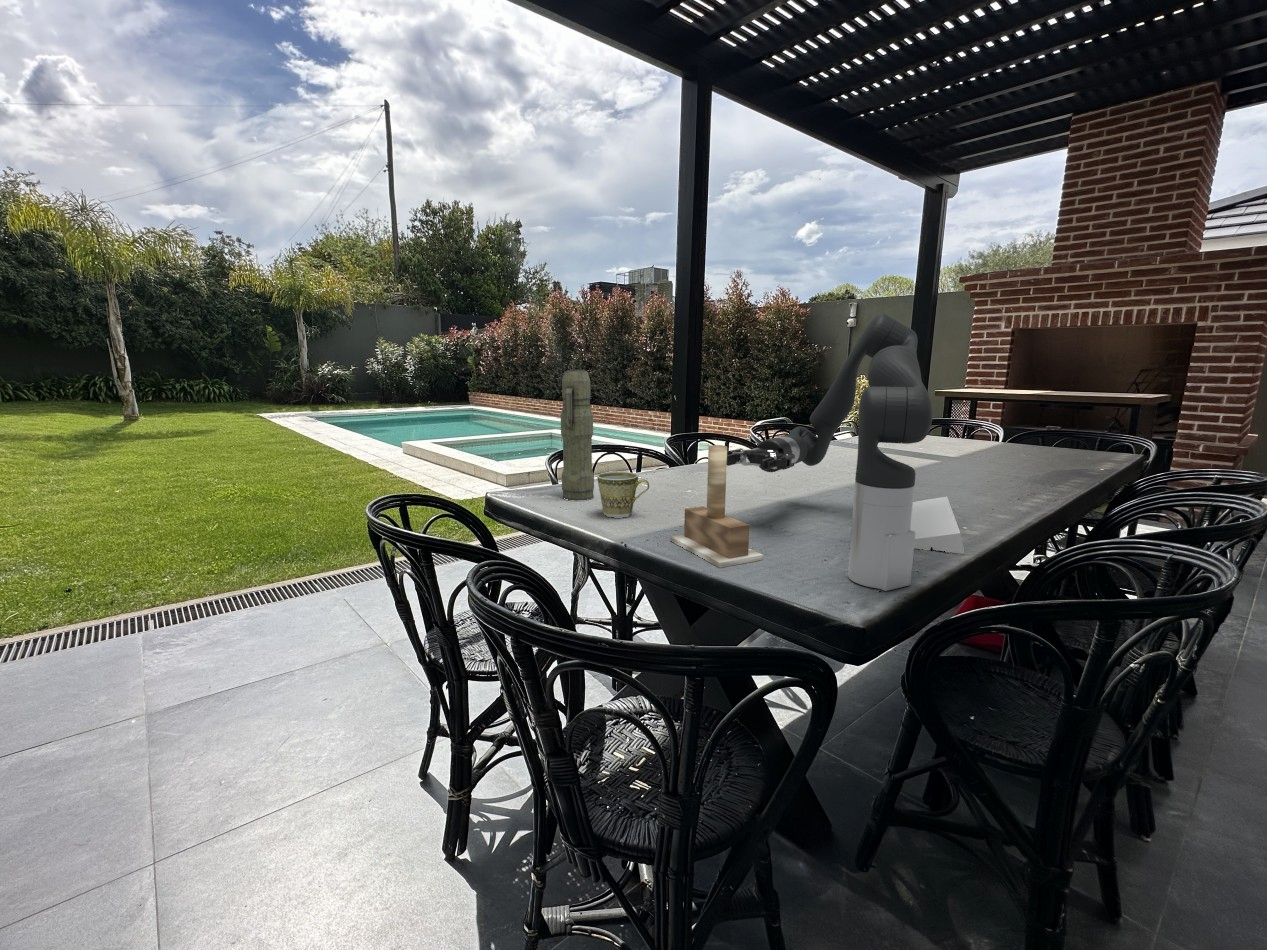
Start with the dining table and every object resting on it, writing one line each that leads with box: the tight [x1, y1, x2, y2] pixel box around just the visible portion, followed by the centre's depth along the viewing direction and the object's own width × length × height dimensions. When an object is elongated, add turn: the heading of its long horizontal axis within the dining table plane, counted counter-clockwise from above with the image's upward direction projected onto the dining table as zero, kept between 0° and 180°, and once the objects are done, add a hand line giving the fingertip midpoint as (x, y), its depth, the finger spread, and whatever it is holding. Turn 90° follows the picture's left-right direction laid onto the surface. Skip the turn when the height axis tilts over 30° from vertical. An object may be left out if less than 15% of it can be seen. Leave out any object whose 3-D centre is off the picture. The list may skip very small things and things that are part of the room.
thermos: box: [560, 369, 595, 501], centre depth 158 cm, size 9×12×35 cm
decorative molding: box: [910, 496, 965, 554], centre depth 132 cm, size 34×5×10 cm
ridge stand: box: [670, 506, 764, 568], centre depth 116 cm, size 18×10×7 cm, turn 26°
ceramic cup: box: [596, 471, 650, 519], centre depth 142 cm, size 13×10×10 cm
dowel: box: [706, 444, 728, 519], centre depth 114 cm, size 4×4×14 cm
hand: (744, 463), depth 122 cm, fingers open, 8 cm apart
